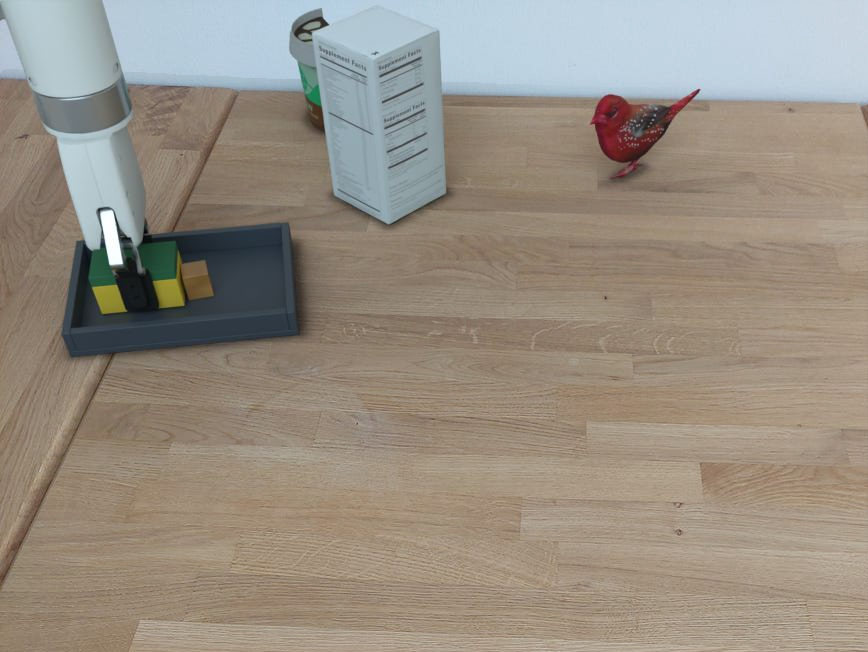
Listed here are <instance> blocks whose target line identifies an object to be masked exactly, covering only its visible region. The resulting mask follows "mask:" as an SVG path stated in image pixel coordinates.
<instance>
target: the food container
mask: <svg viewBox="0 0 868 652" xmlns="http://www.w3.org/2000/svg"><path fill="white" fill-rule="evenodd" d="M323 13H324V12H323V7H320V8H319V7H318V8H315V9H312V10H309V11H308V12H305V13H303V14H301V15H300V16H298V17H297V18H296V19H295V20H294V21H293V22H292V25H291V29H290V31H289V41H288V42H289V43H288V51H289V53H290V55H291V57H292V58H293V59H295V60H296V62H297V67H298V71H299V76H300V80H301V84H302V90H303V94H304V98H305V104H306V107H307V113H308V117H309V121H310V124H311V125H312V126H313V127H314V128H315V129H317V130H318V131H320V132H324V133H325V126H324V118H323V111H322V104H321V97H320V90H319V83H318V75H317V68H316V61H315V54H314V47H313V40H312V33H313V32H315V31H317V30H319V29H321V28H324V27H326V26H328V25H330V23H328V21H326V19H325V18H324V14H323Z"/></svg>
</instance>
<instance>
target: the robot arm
mask: <svg viewBox="0 0 868 652" xmlns="http://www.w3.org/2000/svg"><path fill="white" fill-rule="evenodd" d="M2 20H4V21H5V22H6V26H7V28H8V30H9V33H10V36H11V39H12V42H13V44H14V47H15V50H16V52H17V55H18V57H19V58H18V59H19V62H20V64H21V66H22V68H23V72H24V75H25V78H26V80H27V83H28V86H29V89H30V91H31V95H32V97H33V100H34V103H35V105H36V108H37V111H38V114H39V117H40V120H41V122H42V124H43V128H44V129H45V131H46V132H47V133H49V134H50V135H52V136H54V137H56V143H57V149H58V153H59V157H60V161H61V165H62V171H63V173H64V177H65V180H66V184H67V188H68V190H69V194H70V197H71V201H72V204H73V207H74V210H75V214H76V217H77V220H78V224H79V227H80V229H81V233H82V236H83V240H85V242H86V245H87V247H88V248H89V249H90V250H91V251H96V250H100V246H101V238H104V242H105V245H106V249H107V254H108V260H109V265H110V268H111V270H112V271H113V275H114V277H115V280H116V283H117V286H118V289H119V292H120V295H121V298H122V301H123V304H124V306H125V309H126V310H127V311H129V312H131V311H142V310H153V309H158V308H159V301H158V297H157V294H156V291H155V288H154V285H153V281H152V278H151V275H150V272H149V269H145V267H144V263H143V259H142V255H141V251H140V247H139V245H140V244H148V243H154V242H153V238H152V235H146V234H150V228H149V227H150V226H149V224H148V221H147V218H146V208H147V207H146V206H147V194H146V187H145V183H144V179H143V174H142V171H141V167H140V163H139V161H138V157H137V154H136V151H135V146H134V143H133V141H132V138H131V134H130V131H129V128H128V125H129V124H130V123H131V122H132V120H133V118H134V116H135V110H134V107H133V104H132V100H131V96H130V93H129V90H128V86H127V83H126V79H125V75H124V72H123V68H122V64H121V61H120V58H119V57H120V56H119V54H118V51H117V48H116V44H115V40H114V36H113V33H112V29H111V26H110V23H109V20H108V16H107V12H106V8H105V5H104V2H103V0H0V21H2ZM123 236H125V237H123ZM121 237H122V238H121ZM124 249H132V252H133V256H134V260H135V261H134V260H133V259H132V258H131V257H126V256H125V254H124Z"/></svg>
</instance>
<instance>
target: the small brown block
mask: <svg viewBox="0 0 868 652" xmlns="http://www.w3.org/2000/svg"><path fill="white" fill-rule="evenodd" d="M180 268H181V274H182V279H183V282H184V285H185V289H186V292H187V296H188V299H189V300H195V299H200V298H206V297H211V296H214V293H213V288H212V284H211V280H210V276H209V272H208V269H207V265H206V261H205V260H202V261H196V262H191V263H185V264H180Z"/></svg>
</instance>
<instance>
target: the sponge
mask: <svg viewBox="0 0 868 652" xmlns="http://www.w3.org/2000/svg"><path fill="white" fill-rule="evenodd" d="M139 247H140V251H141V255H142V259H143V263H144V267H145V269H149V272H150V275H151V278H152V281H153V285H154V288H155V291H156V294H157V297H158V301H159V308H168V307H178V306H185V285H184V282H183V279H182V274H181V268H180V264H182V261H181V258H180V254H179V251H178V247H177V244H176V241H168V242H158V243H148V244H140V245H139ZM124 254H125V256H126V257H131V258H132V259H133V260H134V256H133V252H132V249H124ZM134 261H135V260H134ZM89 281H90V284H91V286H92V289H93V291H94V294H95V297H96V299H97V302H98V304H99V307H100V310H101V312H102V314H109V313H119V312H129V311H127V310H126V309H125V306H124V304H123V301H122V298H121V295H120V292H119V289H118V286H117V283H116V280H115V277H114V275H113V271H112V270H111V268H110V265H109V260H108V254H107V249H106V248H100V250H96V251H92V258H91V264H90V271H89Z"/></svg>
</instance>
